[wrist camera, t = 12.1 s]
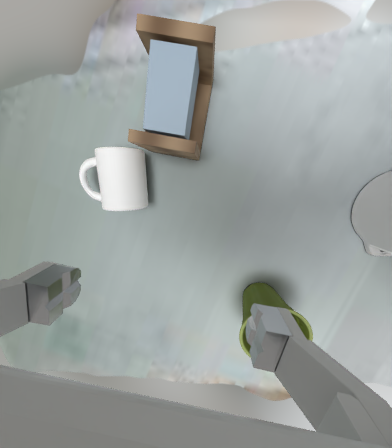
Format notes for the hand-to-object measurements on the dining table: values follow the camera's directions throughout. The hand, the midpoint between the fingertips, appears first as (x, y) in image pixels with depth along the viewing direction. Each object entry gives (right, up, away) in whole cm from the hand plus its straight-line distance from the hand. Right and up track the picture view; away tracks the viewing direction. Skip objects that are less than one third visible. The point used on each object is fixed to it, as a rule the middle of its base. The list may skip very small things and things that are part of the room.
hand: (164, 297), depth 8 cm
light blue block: (-2, +21, +19) cm, 28 cm away
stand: (-1, +23, +24) cm, 33 cm away
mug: (-13, +12, +28) cm, 33 cm away
